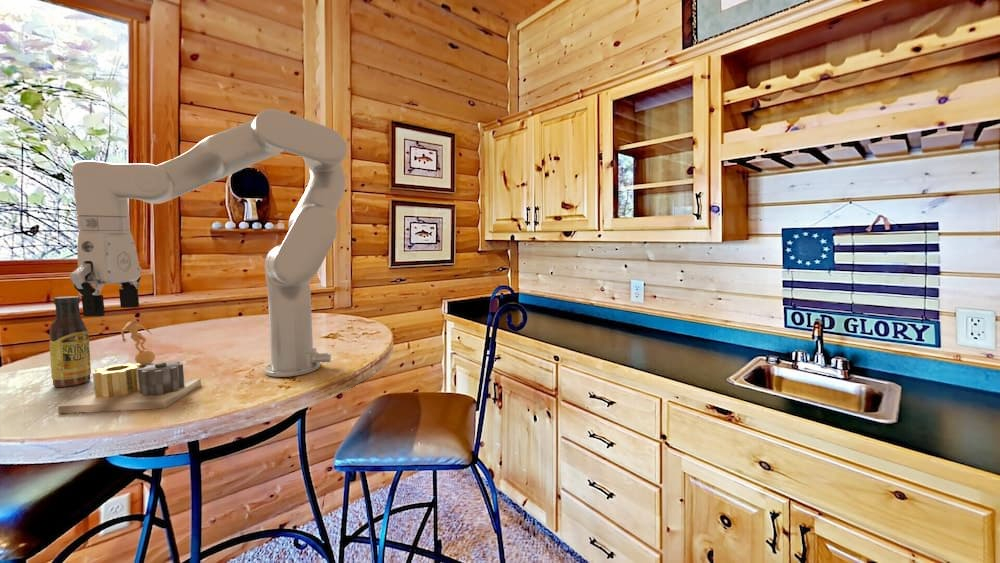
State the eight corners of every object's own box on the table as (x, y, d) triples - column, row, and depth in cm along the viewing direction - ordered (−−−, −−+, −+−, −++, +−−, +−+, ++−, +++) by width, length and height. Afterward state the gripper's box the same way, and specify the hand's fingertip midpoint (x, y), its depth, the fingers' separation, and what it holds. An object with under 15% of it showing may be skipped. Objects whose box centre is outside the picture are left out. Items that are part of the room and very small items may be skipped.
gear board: (201, 384, 94) (198, 354, 94) (165, 407, 82) (162, 372, 81) (110, 389, 91) (107, 357, 91) (58, 414, 79) (54, 377, 78)
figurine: (139, 370, 105) (135, 323, 103) (115, 369, 105) (111, 322, 103) (165, 360, 113) (162, 316, 112) (143, 360, 113) (139, 316, 112)
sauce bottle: (67, 389, 91) (57, 299, 89) (44, 387, 92) (34, 298, 90) (100, 379, 98) (92, 295, 96) (79, 377, 99) (70, 294, 97)
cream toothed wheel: (150, 384, 90) (148, 362, 89) (126, 397, 83) (124, 373, 82) (112, 386, 89) (110, 363, 88) (85, 399, 82) (82, 374, 81)
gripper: (92, 225, 75) (101, 319, 77) (154, 227, 92) (160, 304, 93) (43, 225, 73) (54, 320, 75) (115, 227, 90) (122, 305, 92)
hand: (113, 311), depth 84 cm, fingers open, 9 cm apart
